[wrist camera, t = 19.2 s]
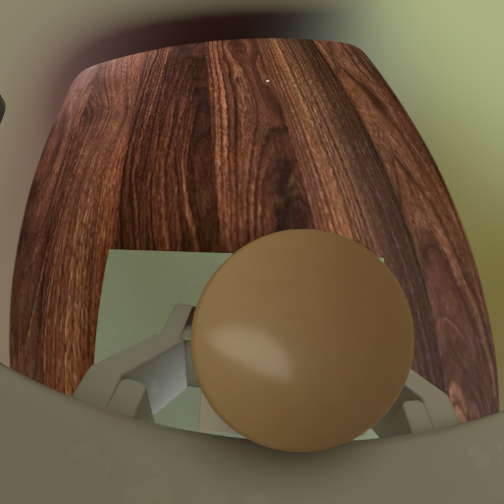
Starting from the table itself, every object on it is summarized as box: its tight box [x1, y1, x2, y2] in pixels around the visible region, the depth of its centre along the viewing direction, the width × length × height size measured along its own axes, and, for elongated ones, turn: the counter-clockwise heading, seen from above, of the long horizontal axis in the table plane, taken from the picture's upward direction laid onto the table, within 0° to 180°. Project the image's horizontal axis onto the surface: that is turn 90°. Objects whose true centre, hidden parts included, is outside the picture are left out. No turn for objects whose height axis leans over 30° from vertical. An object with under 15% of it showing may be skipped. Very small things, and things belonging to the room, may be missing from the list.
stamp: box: [190, 229, 414, 453], centre depth 9 cm, size 5×7×12 cm
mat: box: [94, 249, 384, 441], centre depth 17 cm, size 20×18×1 cm
